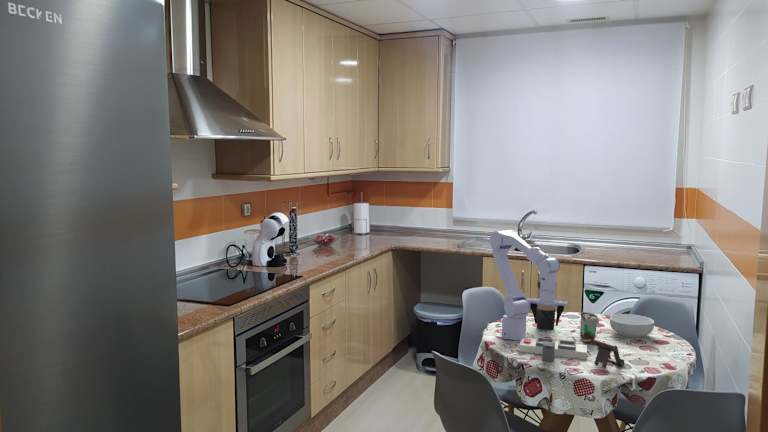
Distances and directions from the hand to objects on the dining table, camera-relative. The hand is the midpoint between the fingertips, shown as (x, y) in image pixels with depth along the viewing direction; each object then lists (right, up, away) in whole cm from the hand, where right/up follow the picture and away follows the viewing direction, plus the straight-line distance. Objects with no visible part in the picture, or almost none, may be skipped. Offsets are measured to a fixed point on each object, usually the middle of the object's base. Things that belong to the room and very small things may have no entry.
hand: (546, 324), depth 227 cm
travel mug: (+7, -7, +27) cm, 29 cm away
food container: (+20, -9, +11) cm, 25 cm away
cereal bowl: (+40, -8, +18) cm, 44 cm away
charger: (-2, -11, -12) cm, 16 cm away
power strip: (+2, -10, -3) cm, 10 cm away
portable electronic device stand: (+17, -12, -15) cm, 26 cm away
